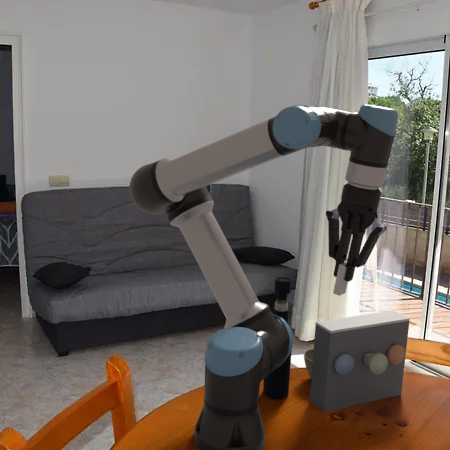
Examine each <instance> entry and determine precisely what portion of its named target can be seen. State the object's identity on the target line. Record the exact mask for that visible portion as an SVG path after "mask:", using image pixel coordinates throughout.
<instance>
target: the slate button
mask: <svg viewBox="0 0 450 450" xmlns="http://www.w3.org/2000/svg"><path fill="white" fill-rule="evenodd" d="M353 366H354V360H353V358H352V357H351V356H350V355H348V354H346V353H343V354H340V355H339V356H338V357H337V358H336V359H335V361H334V370H335V371H336V372H337V373H338V374H340V375H347V374H348V373H350V371H351V370H352V368H353Z"/></svg>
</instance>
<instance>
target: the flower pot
mask: <svg viewBox="0 0 450 450" xmlns="http://www.w3.org/2000/svg"><path fill="white" fill-rule="evenodd" d="M313 352H314V348H309V349H307V350H305V351H304V352H303V358H304V366H305V369H306V370H307V373H308V376H309V378H310V379H311V377H312V364H313Z"/></svg>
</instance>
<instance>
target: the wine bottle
mask: <svg viewBox="0 0 450 450" xmlns="http://www.w3.org/2000/svg"><path fill="white" fill-rule="evenodd" d="M291 286H292V280H291V278H290V277H284V276H280V277H279V276H277V277H275V279H274V290H273V291H274V293H275V294H276V301H275V302H274V308H273V311H272V313H273V314H275V315H277V316H278V317H281V318H283V319H284V320H285V321H286V322H287V324H288V325H289V327H290V328H291V326H290V324H289V323H290V322H289V313H290V311H289V302H288V295H289V294H291V288H292V287H291ZM292 351H293V350H291V353H290V354H289V356H288V357H287V358H286V360H285V362H284V363H283V364H282V365H281V366H279V367H277V368H276V369H275V370H274V371H273V372H271V373H270V374H269V375H268V376H267V377H266V378H264V379H263V385H262V394H263V396H264V397H266V398H267V399H270V400H274V401H275V400H276V401H280V400H284V399H287V398H288V397H289V393H290V392H289V391H290V390H289V389H290V377H291V364H292Z"/></svg>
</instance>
